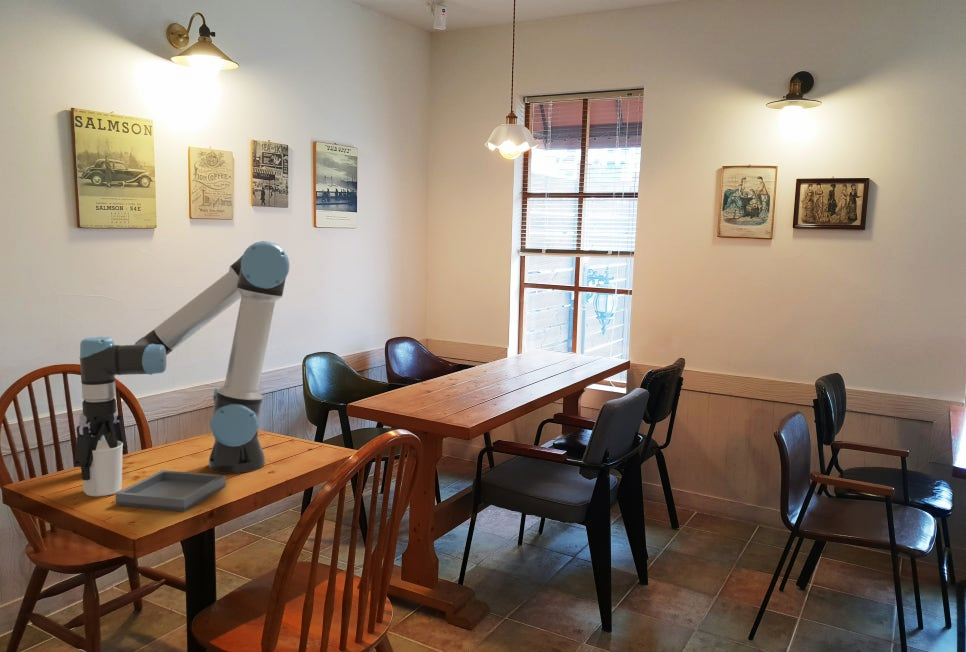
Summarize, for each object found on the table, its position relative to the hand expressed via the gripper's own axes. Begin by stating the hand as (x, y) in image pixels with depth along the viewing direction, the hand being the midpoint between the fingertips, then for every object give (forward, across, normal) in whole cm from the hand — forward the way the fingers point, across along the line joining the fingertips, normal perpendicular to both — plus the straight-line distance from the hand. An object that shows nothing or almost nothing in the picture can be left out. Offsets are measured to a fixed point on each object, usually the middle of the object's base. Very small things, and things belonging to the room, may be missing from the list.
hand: (103, 485), depth 186 cm
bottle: (+2, -12, -12) cm, 17 cm away
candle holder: (+2, 0, 0) cm, 2 cm away
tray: (+2, -1, +19) cm, 19 cm away
